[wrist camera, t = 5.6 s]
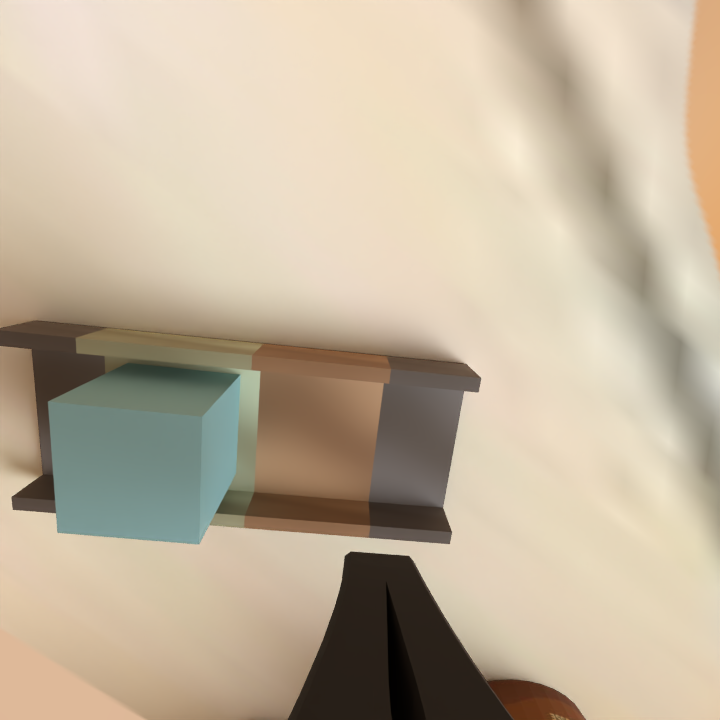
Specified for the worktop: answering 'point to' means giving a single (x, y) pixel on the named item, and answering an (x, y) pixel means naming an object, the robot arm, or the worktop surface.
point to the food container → (534, 701)
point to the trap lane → (288, 427)
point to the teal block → (144, 452)
